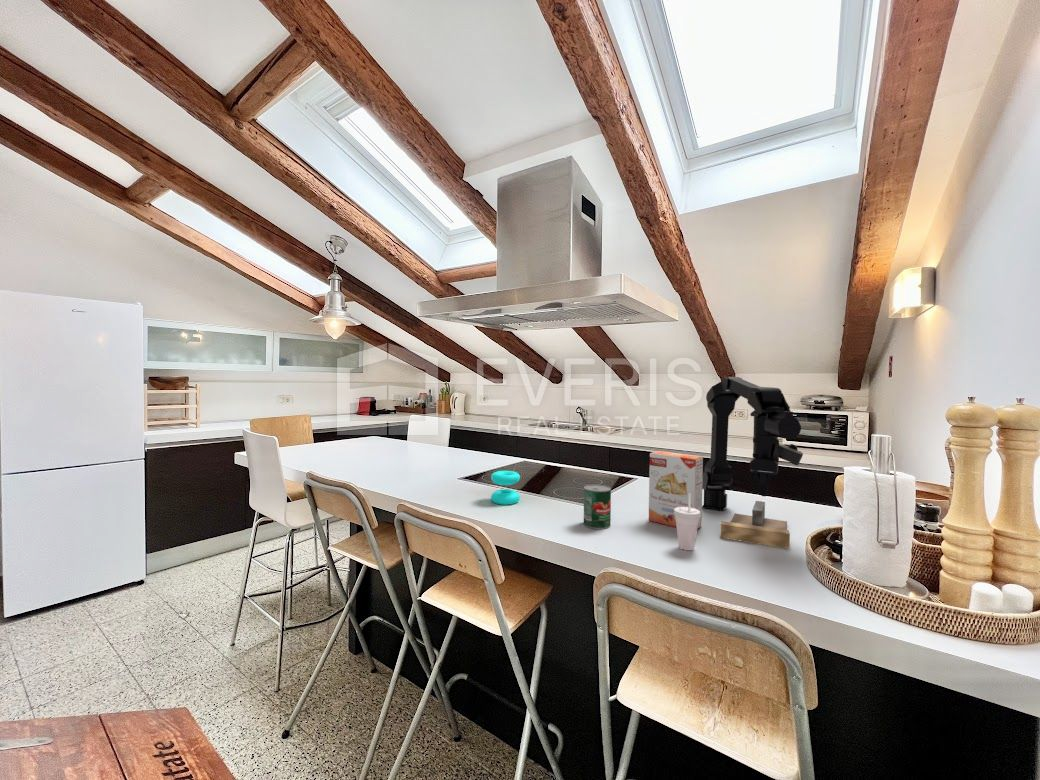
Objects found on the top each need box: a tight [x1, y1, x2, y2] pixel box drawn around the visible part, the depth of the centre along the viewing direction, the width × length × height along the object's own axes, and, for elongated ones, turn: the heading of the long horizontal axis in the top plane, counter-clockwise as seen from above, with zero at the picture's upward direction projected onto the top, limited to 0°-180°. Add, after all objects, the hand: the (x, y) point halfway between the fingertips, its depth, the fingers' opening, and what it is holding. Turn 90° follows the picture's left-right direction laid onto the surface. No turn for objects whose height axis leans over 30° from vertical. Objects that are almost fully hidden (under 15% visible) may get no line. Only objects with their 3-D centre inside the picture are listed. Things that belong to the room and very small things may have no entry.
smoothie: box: [674, 493, 701, 551], centre depth 113 cm, size 6×6×14 cm
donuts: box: [490, 470, 521, 506], centre depth 154 cm, size 10×10×10 cm
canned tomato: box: [583, 484, 612, 530], centre depth 130 cm, size 8×8×11 cm
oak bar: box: [720, 520, 791, 549], centre depth 118 cm, size 16×3×4 cm, turn 63°
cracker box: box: [648, 450, 704, 530], centre depth 131 cm, size 14×6×21 cm, turn 47°
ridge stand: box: [730, 500, 788, 530], centre depth 130 cm, size 14×12×6 cm
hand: (764, 492), depth 119 cm, fingers open, 9 cm apart
